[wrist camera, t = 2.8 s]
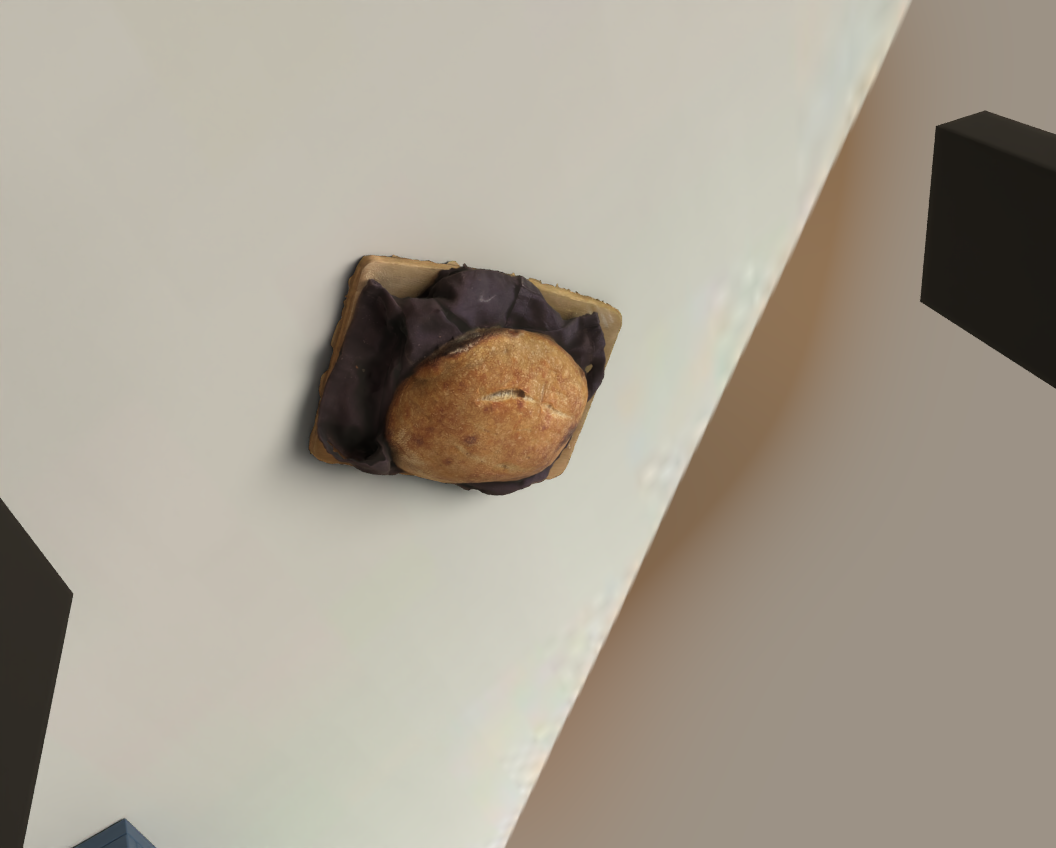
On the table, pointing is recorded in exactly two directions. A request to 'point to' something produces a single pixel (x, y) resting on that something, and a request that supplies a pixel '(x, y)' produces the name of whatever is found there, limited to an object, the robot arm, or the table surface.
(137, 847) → the dark blue shallow tray
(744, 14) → the table surface
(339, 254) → the table surface
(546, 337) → the bread roll
